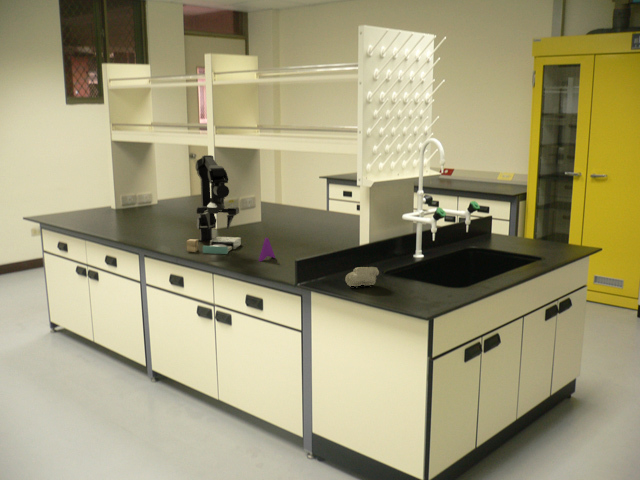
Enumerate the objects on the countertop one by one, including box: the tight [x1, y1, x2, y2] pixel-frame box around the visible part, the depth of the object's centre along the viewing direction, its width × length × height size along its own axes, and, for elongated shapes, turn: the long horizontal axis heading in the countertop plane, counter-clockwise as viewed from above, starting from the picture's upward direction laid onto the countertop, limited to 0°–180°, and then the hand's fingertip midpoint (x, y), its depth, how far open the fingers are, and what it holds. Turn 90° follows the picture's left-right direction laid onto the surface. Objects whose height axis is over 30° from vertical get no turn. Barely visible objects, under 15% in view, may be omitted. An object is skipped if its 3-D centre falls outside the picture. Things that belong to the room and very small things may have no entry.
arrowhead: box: [258, 237, 276, 262], centre depth 264 cm, size 10×2×10 cm
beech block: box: [186, 238, 199, 253], centre depth 280 cm, size 4×4×5 cm
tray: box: [202, 245, 233, 255], centre depth 280 cm, size 10×12×3 cm
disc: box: [212, 244, 227, 247], centre depth 280 cm, size 6×6×2 cm
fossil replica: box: [345, 266, 380, 287], centre depth 223 cm, size 12×8×10 cm
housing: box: [209, 236, 242, 250], centre depth 290 cm, size 10×12×4 cm
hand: (218, 228), depth 278 cm, fingers open, 9 cm apart
